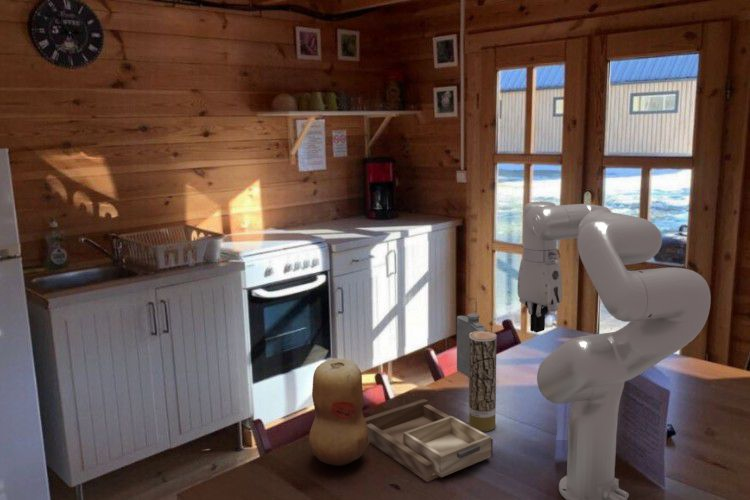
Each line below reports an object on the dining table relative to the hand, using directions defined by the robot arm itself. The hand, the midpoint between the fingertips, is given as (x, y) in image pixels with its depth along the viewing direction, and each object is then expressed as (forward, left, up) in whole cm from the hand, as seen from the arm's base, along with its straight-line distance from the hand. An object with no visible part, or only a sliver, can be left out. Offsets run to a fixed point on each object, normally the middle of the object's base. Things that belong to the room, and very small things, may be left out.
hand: (537, 330), depth 156 cm
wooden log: (+14, +4, -29) cm, 33 cm away
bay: (+15, +22, -29) cm, 40 cm away
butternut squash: (+21, +43, -29) cm, 56 cm away
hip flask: (+40, -17, -29) cm, 52 cm away
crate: (+6, +22, -28) cm, 36 cm away
